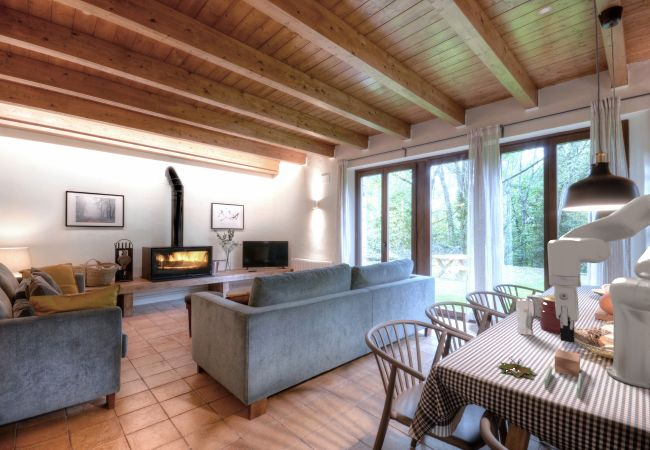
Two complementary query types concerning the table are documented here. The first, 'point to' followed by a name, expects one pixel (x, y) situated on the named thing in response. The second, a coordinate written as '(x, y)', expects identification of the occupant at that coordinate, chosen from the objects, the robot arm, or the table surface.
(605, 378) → the table surface
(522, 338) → the table surface
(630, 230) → the robot arm
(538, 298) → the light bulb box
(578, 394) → the pair of grey-green bars
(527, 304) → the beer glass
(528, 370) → the green twiggy clump
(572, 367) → the terracotta block
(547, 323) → the canister
